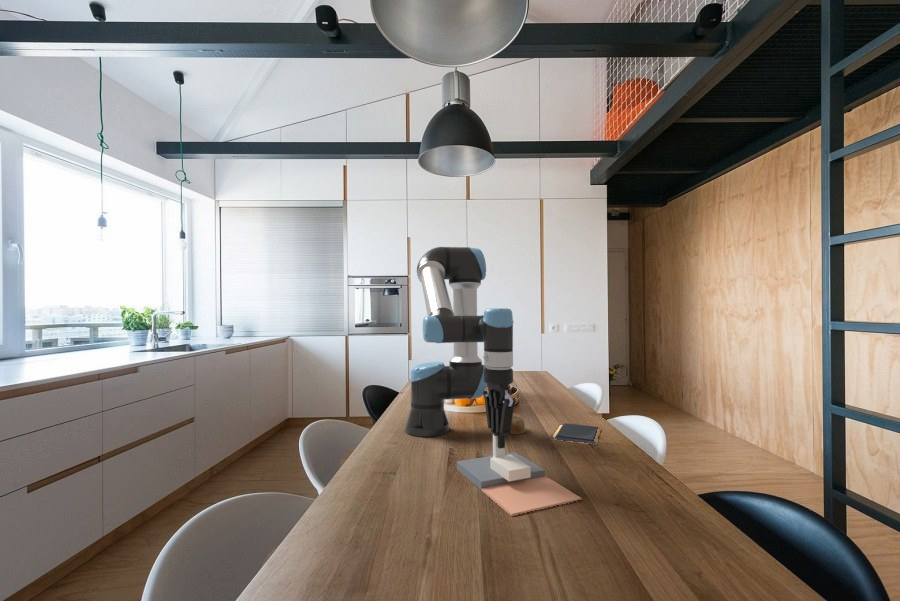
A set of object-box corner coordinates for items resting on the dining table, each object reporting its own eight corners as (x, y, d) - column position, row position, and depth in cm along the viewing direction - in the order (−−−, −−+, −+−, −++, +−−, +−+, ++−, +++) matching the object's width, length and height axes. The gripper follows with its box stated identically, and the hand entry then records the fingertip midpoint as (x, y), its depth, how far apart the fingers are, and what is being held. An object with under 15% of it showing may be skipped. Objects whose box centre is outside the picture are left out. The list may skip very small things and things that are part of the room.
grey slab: (456, 469, 109) (456, 461, 109) (514, 459, 116) (514, 452, 116) (481, 490, 96) (481, 481, 96) (545, 477, 103) (545, 469, 103)
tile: (490, 467, 104) (490, 457, 104) (510, 464, 107) (510, 454, 107) (508, 481, 96) (508, 470, 96) (530, 477, 98) (530, 466, 99)
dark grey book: (596, 441, 127) (547, 435, 134) (596, 448, 127) (547, 441, 134) (603, 425, 145) (559, 420, 152) (603, 431, 145) (559, 425, 152)
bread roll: (522, 446, 138) (532, 424, 138) (494, 433, 138) (504, 411, 139) (517, 437, 148) (527, 417, 148) (492, 424, 148) (501, 404, 149)
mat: (481, 490, 96) (481, 488, 96) (545, 478, 103) (545, 476, 103) (511, 516, 84) (511, 513, 84) (581, 500, 91) (581, 498, 91)
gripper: (474, 365, 111) (474, 453, 111) (498, 371, 99) (498, 470, 99) (498, 364, 114) (498, 449, 114) (524, 370, 102) (525, 465, 102)
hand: (498, 459), depth 106 cm, fingers closed
